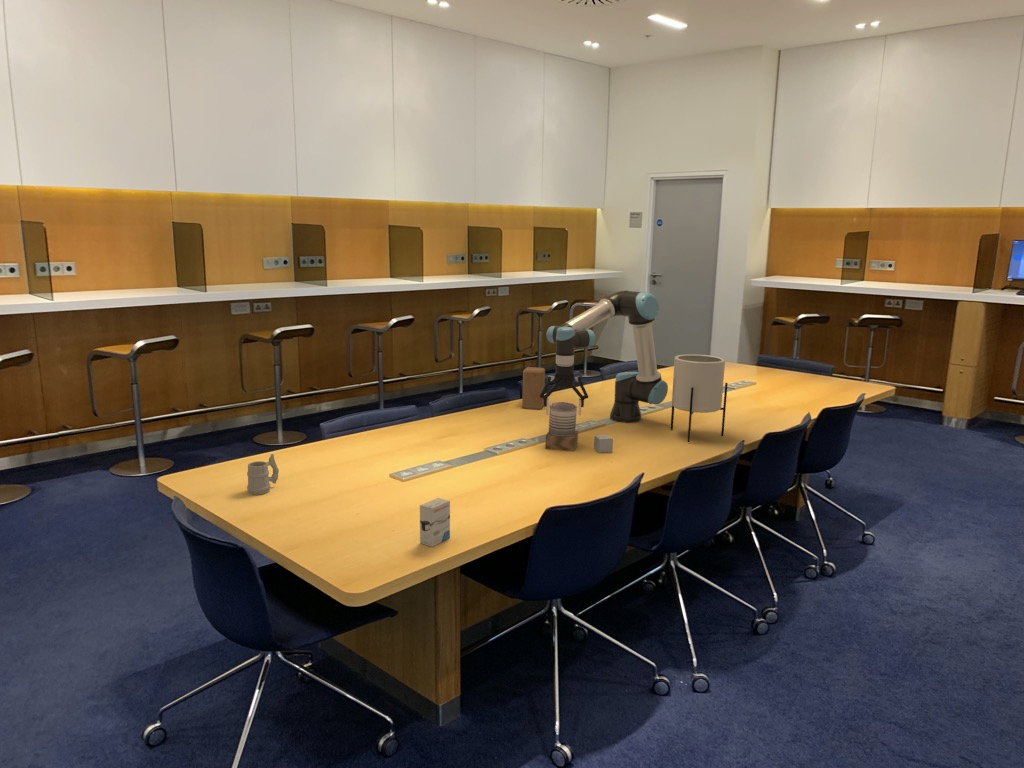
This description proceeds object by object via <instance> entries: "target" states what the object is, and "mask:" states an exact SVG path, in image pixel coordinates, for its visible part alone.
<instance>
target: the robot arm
mask: <svg viewBox="0 0 1024 768" xmlns="http://www.w3.org/2000/svg"><path fill="white" fill-rule="evenodd" d="M659 311H660V305H659V301H658V299H657V297H656V296H655V295H654V294H652V293H650V292H646V291H633V290H620V291H616V292H614V293H611V294H609V295H606V296H605V297H604V298H602V299H600V300H599V302H598V304H595V305H594V306H593V307H590V308H589V309H587V310H585V311H583V312H581V313H580V314H578V315H576V316H574V317H573V318H570V320H568V321H566V322H564V323H563V324H561V325H551V326H550V327H548V328H547V331H546V339H547V341H548V342H549V343H550V344H555V375H554V376H553V375H549V374H548V376H547V381H545V386H544V388H543V390H542V392H541V393H540V398H543V399H544V405H543V407H546V412H545V413H546V414H545V415H547V416H549V406H550V404H549V398H550V396H551V395H552V393H554V391H555V390H556V389H557V388H558V387H560V388H564V387H565V388H568V387H570V388H571V389H572V390H573V391H574V392H575V394H576V395H577V396H578V397H579V398H578V416H581V415H582V408H584V405H585V400H586V399H589V395H588V393H587V390H586V388H585V387H584V385H583V382H582V377H581V375H577V376H574V371H575V370H574V368H575V366H574V365H575V350H578V349H579V350H580V349H584V348H585V349H587V348H591V347H593V346H594V345H595V344H596V343H595V342H596V334H595V332H594V331H593V330H592V329H591V328H592V327H594V326H597V324H599V323H601V322H603V321H604V320H606V319H607V320H609V319H612V318H614V317H621V316H623V317H626V318H628V324H629V325H630V326H632V331H633V339H634V340H633V341H634V346H635V353H636V355H635V356H636V363H637V369H638V371H625V372H623V371H622V372H619V373H617V374H616V375H615V382H614V402H613V406H612V408H611V411H610V413H609V414H610V415H609V419H610V420H612V421H615V422H618V423H631V424H632V423H638V422H641V421H642V411H641V408H640V404H639V403H640V402H642V403H645V404H649V405H660V404H661V403H662V402H664V400H665V399H666V397H667V395H668V391H669V390H668V389H669V386H668V383H667V382H666V381H665V380H662V373H660V372H659V371H658V366H657V357H656V350H655V342H654V341H655V340H654V339H655V338H654V332H653V323H654V322H655V319H656V317H657V316H658V314H659V313H658V312H659ZM553 380H554V381H555V383H554V384H553V386H552V387H551V388H550V389H549V390H548V388H549V386H550V385H551V382H553ZM574 381H576V382H577V383H578V385H579V387H580V389H581V391H582V393H583V394H582V393H581V392H580V390H579V389H578V387H576V386H575V384H574V383H573V382H574ZM547 390H548V391H547Z"/></svg>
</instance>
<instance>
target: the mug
mask: <svg viewBox="0 0 1024 768" xmlns="http://www.w3.org/2000/svg"><path fill="white" fill-rule="evenodd" d="M274 456H275V454H274V453H271V454H270V457H268V461H262V460H261V461H253V462H249V463H247V473H246V475H247V486H246V490H247V492H248V494H249V495H252V496H257V495H259V496H260V495H265V494H268V493H269V492H270V491H271V484H270V482H271V483H272V484H274V485H275V484H277V481H278V480H279V468H278V465H277V463H276V460H275V457H274ZM269 466H270V467H271V468H272V474H271V476H269V474H270V471H269Z"/></svg>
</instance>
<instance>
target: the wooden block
mask: <svg viewBox="0 0 1024 768" xmlns="http://www.w3.org/2000/svg"><path fill="white" fill-rule="evenodd" d="M545 384H546V369H545V368H544V367H531V366H527V367H526V368H525V369H523V371H522V396H521V397H522V399H521V400H522V401H521V407H522V408H523V409H526V410H527V409H528V410H541V409H542V408H543V407H544V399H543V398H540V393H541V392H542V390H543V388H544V386H545Z"/></svg>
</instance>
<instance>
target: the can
mask: <svg viewBox="0 0 1024 768" xmlns="http://www.w3.org/2000/svg"><path fill="white" fill-rule="evenodd" d="M577 408H578V406H577V405H575V404H574V403H570V402H565V401H560V402H551V404H549V415H548V416H549V420H548V432H549V433H550V434H551V435H555V436H565V437H567V436H573V435H574V434H575V430H577V428H576V427H577V426H576V425H577V410H578V409H577Z"/></svg>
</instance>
